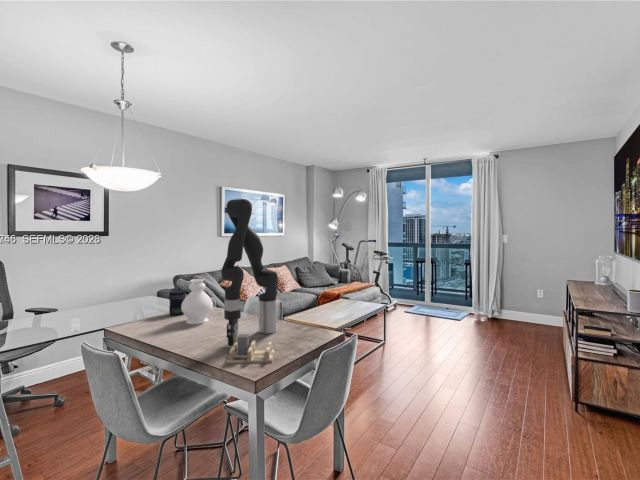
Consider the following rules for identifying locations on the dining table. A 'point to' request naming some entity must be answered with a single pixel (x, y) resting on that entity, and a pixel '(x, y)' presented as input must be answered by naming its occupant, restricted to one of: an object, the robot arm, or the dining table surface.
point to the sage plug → (234, 337)
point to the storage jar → (176, 302)
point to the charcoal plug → (243, 344)
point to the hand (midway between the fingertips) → (232, 342)
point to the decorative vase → (197, 303)
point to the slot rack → (252, 354)
